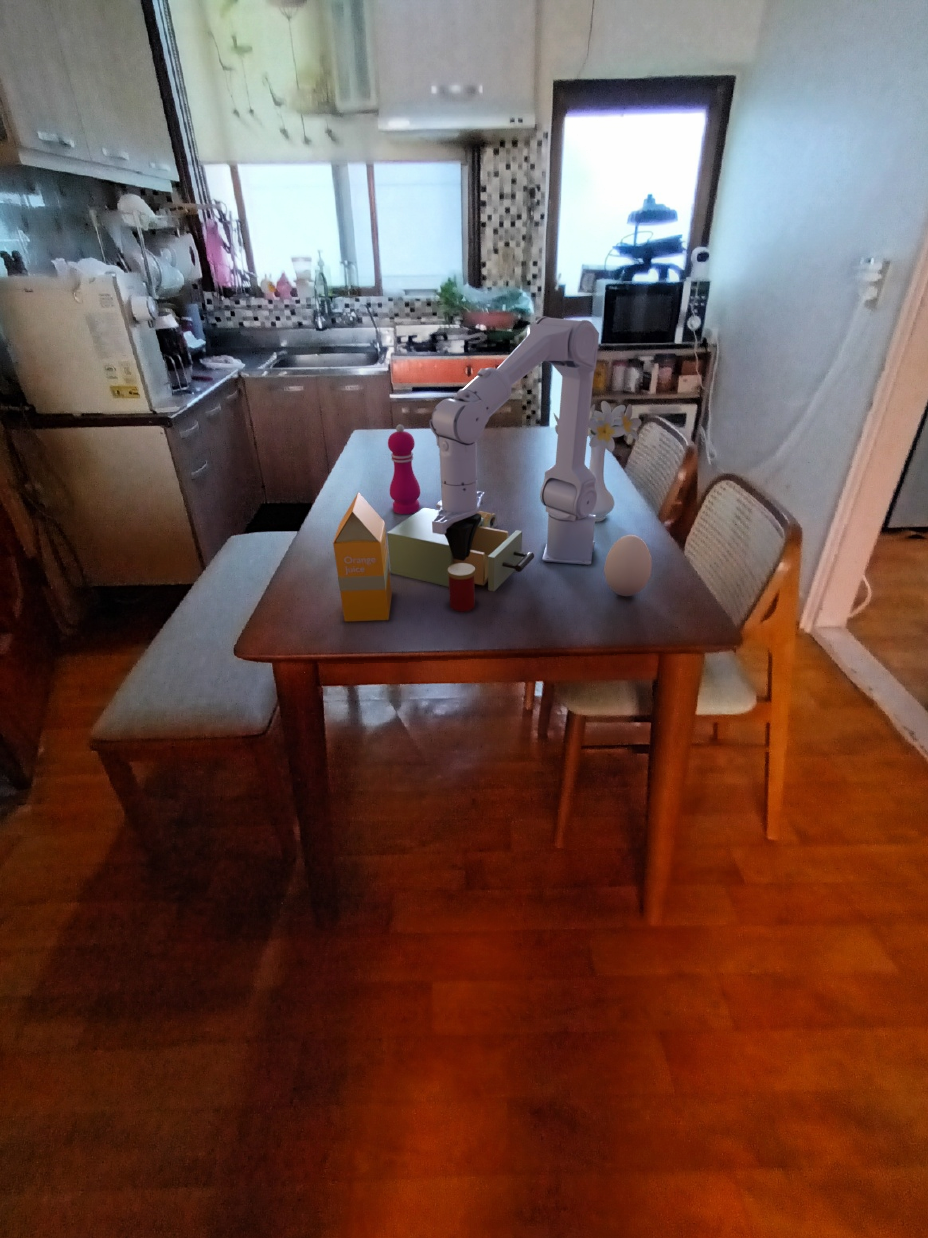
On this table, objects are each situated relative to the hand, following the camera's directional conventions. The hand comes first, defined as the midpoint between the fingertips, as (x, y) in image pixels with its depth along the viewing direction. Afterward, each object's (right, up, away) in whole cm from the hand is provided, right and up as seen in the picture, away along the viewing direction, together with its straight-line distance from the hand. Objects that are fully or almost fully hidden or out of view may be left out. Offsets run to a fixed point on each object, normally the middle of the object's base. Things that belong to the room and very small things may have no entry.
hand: (461, 557), depth 105 cm
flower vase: (+29, +12, +37) cm, 48 cm away
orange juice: (-16, -9, +5) cm, 19 cm away
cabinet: (-5, 0, +18) cm, 19 cm away
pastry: (+3, +10, +33) cm, 35 cm away
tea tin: (0, -8, +5) cm, 9 cm away
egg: (+29, -6, +7) cm, 31 cm away
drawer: (+5, -2, +13) cm, 14 cm away
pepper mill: (-13, +16, +44) cm, 48 cm away
